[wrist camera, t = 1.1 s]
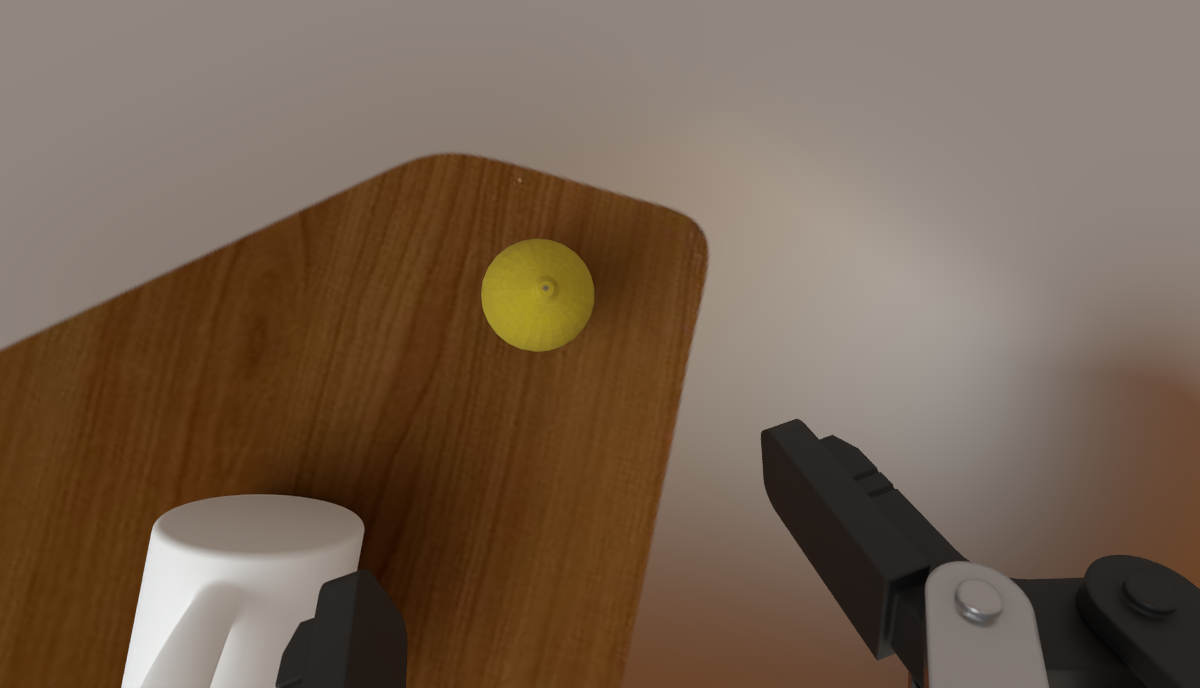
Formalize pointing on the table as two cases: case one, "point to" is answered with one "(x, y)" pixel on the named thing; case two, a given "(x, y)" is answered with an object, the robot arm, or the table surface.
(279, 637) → the mug
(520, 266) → the lemon
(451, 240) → the table surface
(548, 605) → the table surface
